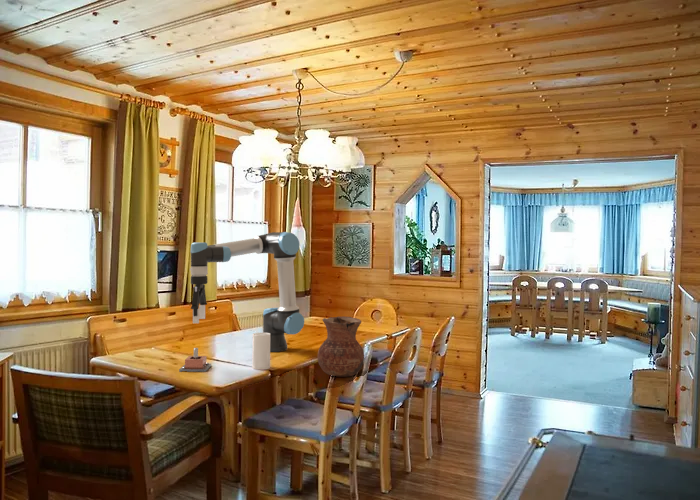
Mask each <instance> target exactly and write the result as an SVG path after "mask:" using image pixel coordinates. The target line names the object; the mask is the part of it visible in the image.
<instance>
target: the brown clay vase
mask: <svg viewBox="0 0 700 500" xmlns="http://www.w3.org/2000/svg"><path fill="white" fill-rule="evenodd" d="M322 322H323V323H324V325H325V327H326V333H327V335H326V336H327V337H326V339H325V340H324V341H323V342H322V344H321V345H320V347H319V348H318V351H317V362H318V365H319V367H320V368H321V370H322V371H323V372H324V373H325V374H326V375H329V376H332V375H333V376H332V377H335V376H336V377H340V378H346V377H348V378H349V377H353V376H355V375H357V374H358V372H359V371H360V370H361V369H362V367H363V364H364V360H365V352H364V349H363V347H362V345H361V344H360V343H359V340H357V337H356V334H357V331H358V329H359V327H360V325H361V324H362V320H361V319H360V318H357V317H351V316H345V315H344V316H336V317H335V316H334V317H328V318H327V317H324V318H323V319H322Z"/></svg>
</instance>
